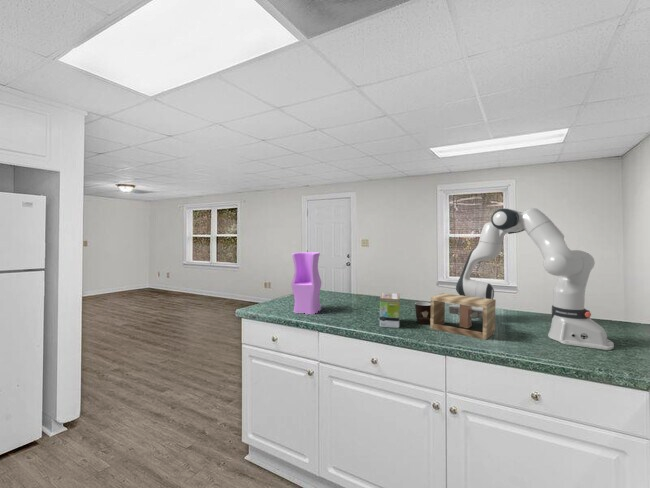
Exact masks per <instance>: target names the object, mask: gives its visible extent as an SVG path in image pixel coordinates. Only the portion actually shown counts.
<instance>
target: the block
mask: <svg viewBox="0 0 650 488" xmlns="http://www.w3.org/2000/svg"><path fill="white" fill-rule="evenodd" d="M459 305H460V315H459V327H458V328H462V329H469V328H471V327H472V318H471V317H469V313H471V310H472V306H468V305H461V304H459Z"/></svg>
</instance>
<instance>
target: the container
mask: <svg viewBox="0 0 650 488" xmlns="http://www.w3.org/2000/svg"><path fill="white" fill-rule="evenodd" d="M320 255H321V252H318V251H316V252H315V251H313V252H312V251H311V252H310V251H309V252H307V251H304V252H303V251H302V252H301V251H299V252H298V251H297V252H294V253H291V257H292V260H293V264H294V274H293V278H292V282H291V290H292V293H293V298H294V307H293V312H295V313H305V314H304V315H308V314H314V315H316V314H317V313H319V312H320V311H321V310H322V306H321V301H320V296H321V295H320V294H321V287H322V280H321V277H320V273H319V260H320V259H319V258H320ZM318 311H319V312H318ZM295 313H294V314H295ZM315 313H316V314H315Z"/></svg>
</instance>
